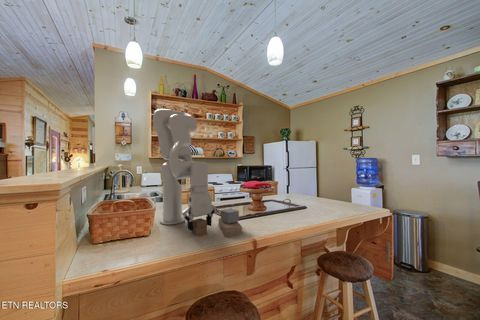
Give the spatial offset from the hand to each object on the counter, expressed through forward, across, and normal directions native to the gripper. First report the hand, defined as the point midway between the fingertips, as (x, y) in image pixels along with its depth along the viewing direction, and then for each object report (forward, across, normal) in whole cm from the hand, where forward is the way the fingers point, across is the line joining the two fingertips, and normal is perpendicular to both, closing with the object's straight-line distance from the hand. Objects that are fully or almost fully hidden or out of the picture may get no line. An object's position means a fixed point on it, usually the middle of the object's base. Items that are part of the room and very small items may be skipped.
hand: (199, 227), depth 100 cm
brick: (+4, +13, -5) cm, 15 cm away
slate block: (-1, +13, -5) cm, 14 cm away
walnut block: (+3, 0, +1) cm, 3 cm away
